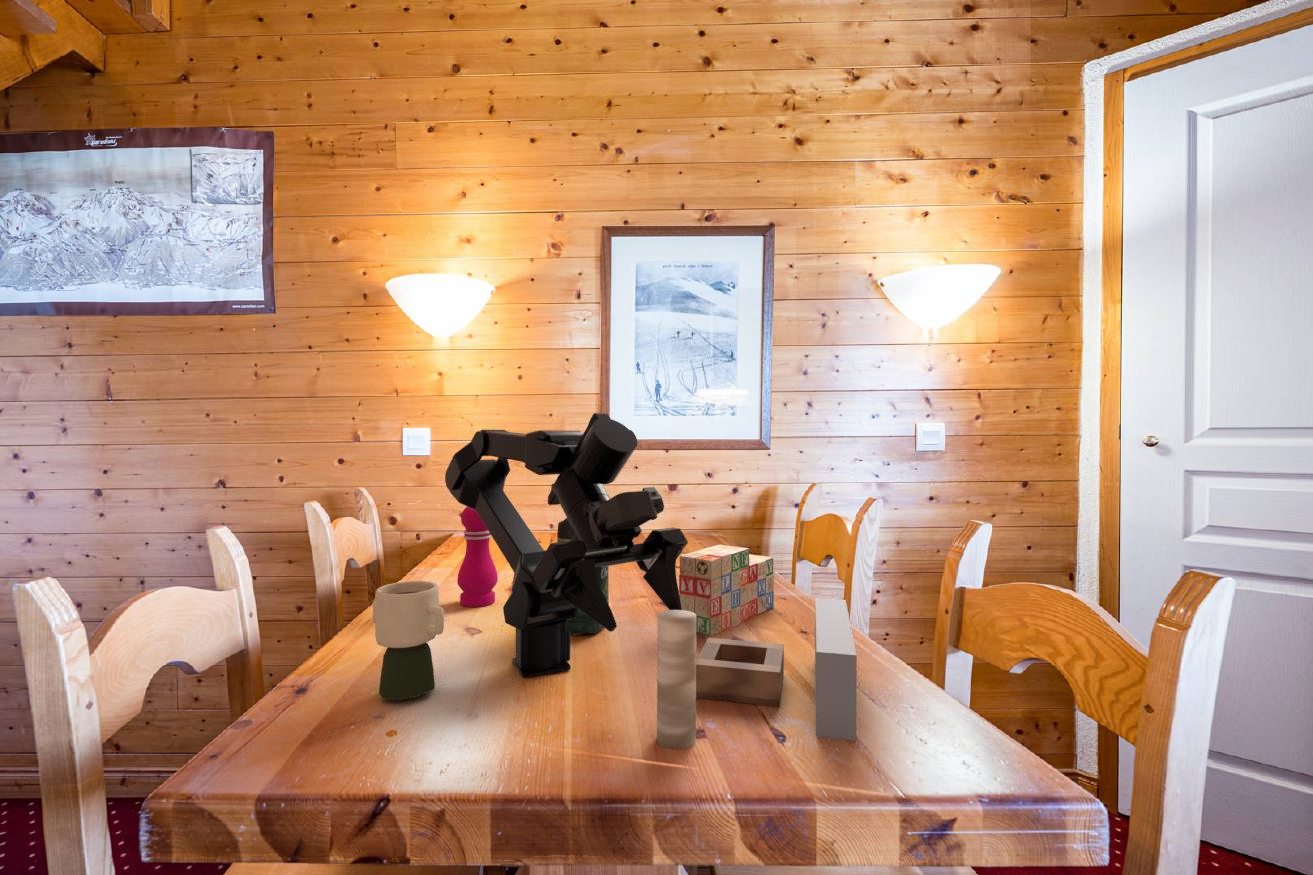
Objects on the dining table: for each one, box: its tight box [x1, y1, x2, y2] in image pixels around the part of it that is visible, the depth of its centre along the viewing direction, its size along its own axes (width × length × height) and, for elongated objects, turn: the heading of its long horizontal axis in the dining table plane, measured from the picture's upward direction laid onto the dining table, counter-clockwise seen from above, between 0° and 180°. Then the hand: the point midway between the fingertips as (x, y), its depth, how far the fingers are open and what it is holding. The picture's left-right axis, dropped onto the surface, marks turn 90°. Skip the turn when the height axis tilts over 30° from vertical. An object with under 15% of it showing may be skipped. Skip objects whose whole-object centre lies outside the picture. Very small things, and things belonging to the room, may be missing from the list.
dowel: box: [656, 609, 697, 750], centre depth 64 cm, size 4×4×13 cm
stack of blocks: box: [678, 544, 775, 636], centre depth 108 cm, size 21×6×12 cm, turn 142°
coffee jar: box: [556, 517, 610, 636], centre depth 102 cm, size 10×8×19 cm
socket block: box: [696, 637, 785, 708], centre depth 78 cm, size 10×10×4 cm
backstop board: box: [814, 597, 858, 742], centre depth 75 cm, size 4×22×9 cm, turn 166°
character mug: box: [372, 580, 445, 701], centre depth 75 cm, size 11×7×13 cm, turn 66°
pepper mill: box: [456, 506, 499, 608], centre depth 116 cm, size 7×7×20 cm
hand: (647, 620), depth 68 cm, fingers open, 9 cm apart
